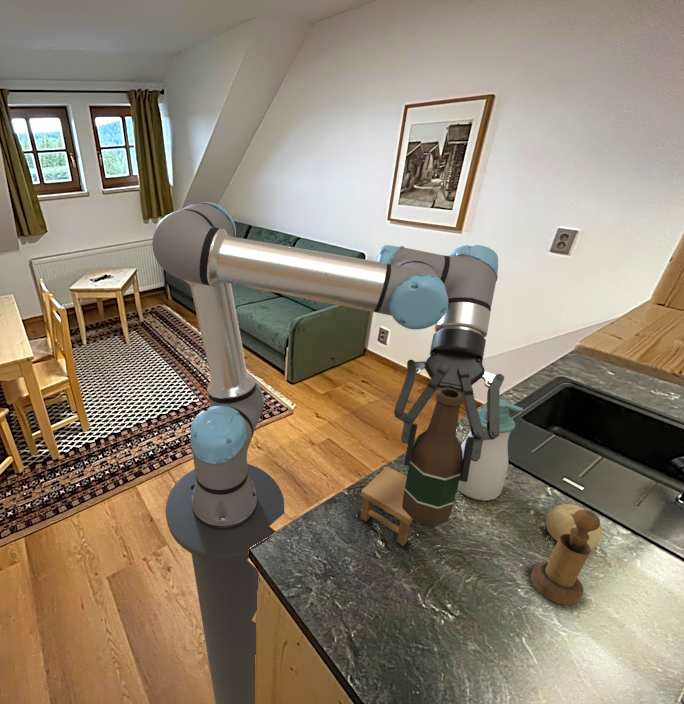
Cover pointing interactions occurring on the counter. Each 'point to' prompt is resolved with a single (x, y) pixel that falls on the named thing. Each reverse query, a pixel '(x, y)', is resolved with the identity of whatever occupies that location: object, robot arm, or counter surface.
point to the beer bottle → (435, 464)
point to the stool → (387, 501)
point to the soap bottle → (490, 458)
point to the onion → (568, 523)
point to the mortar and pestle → (566, 562)
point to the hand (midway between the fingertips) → (434, 472)
